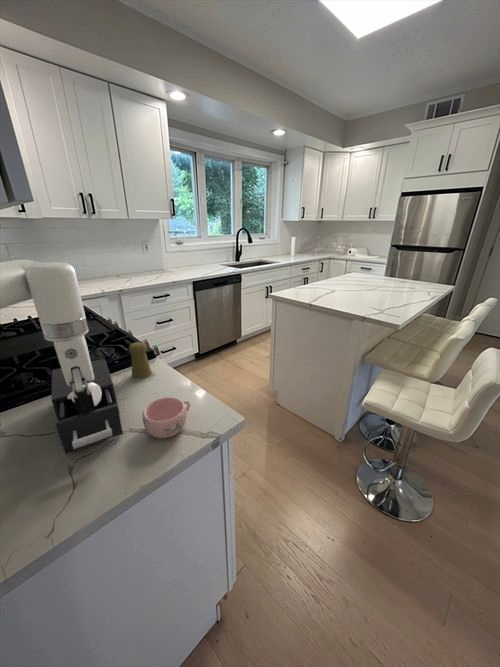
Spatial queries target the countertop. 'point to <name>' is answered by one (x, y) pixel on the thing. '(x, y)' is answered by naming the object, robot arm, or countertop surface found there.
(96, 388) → the garlic bulb
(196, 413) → the countertop surface
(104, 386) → the drawer cabinet
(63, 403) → the dark grey drawer
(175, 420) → the mug
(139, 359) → the cork
